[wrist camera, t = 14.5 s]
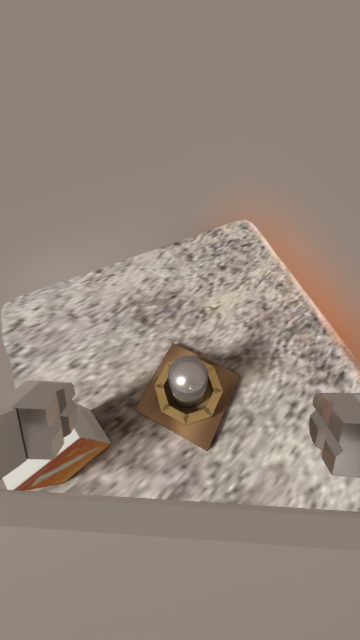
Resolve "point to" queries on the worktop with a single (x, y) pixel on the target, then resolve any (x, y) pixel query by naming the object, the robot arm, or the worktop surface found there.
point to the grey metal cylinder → (188, 381)
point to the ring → (194, 416)
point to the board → (198, 431)
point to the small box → (62, 456)
